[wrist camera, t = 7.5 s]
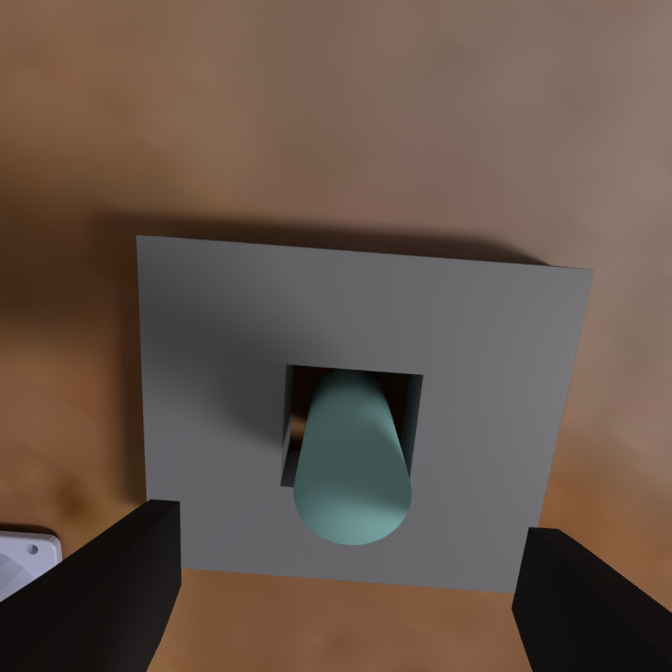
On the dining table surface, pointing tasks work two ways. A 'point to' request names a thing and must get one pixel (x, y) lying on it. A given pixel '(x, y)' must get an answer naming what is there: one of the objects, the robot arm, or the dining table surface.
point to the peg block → (359, 354)
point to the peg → (351, 462)
